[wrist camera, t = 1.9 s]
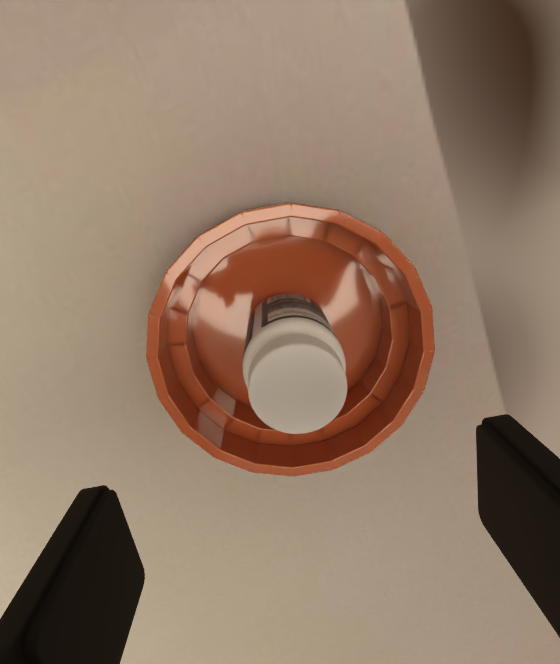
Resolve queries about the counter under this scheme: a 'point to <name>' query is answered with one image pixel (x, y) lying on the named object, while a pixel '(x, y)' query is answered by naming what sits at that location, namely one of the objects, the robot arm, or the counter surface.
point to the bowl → (336, 303)
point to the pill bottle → (293, 364)
